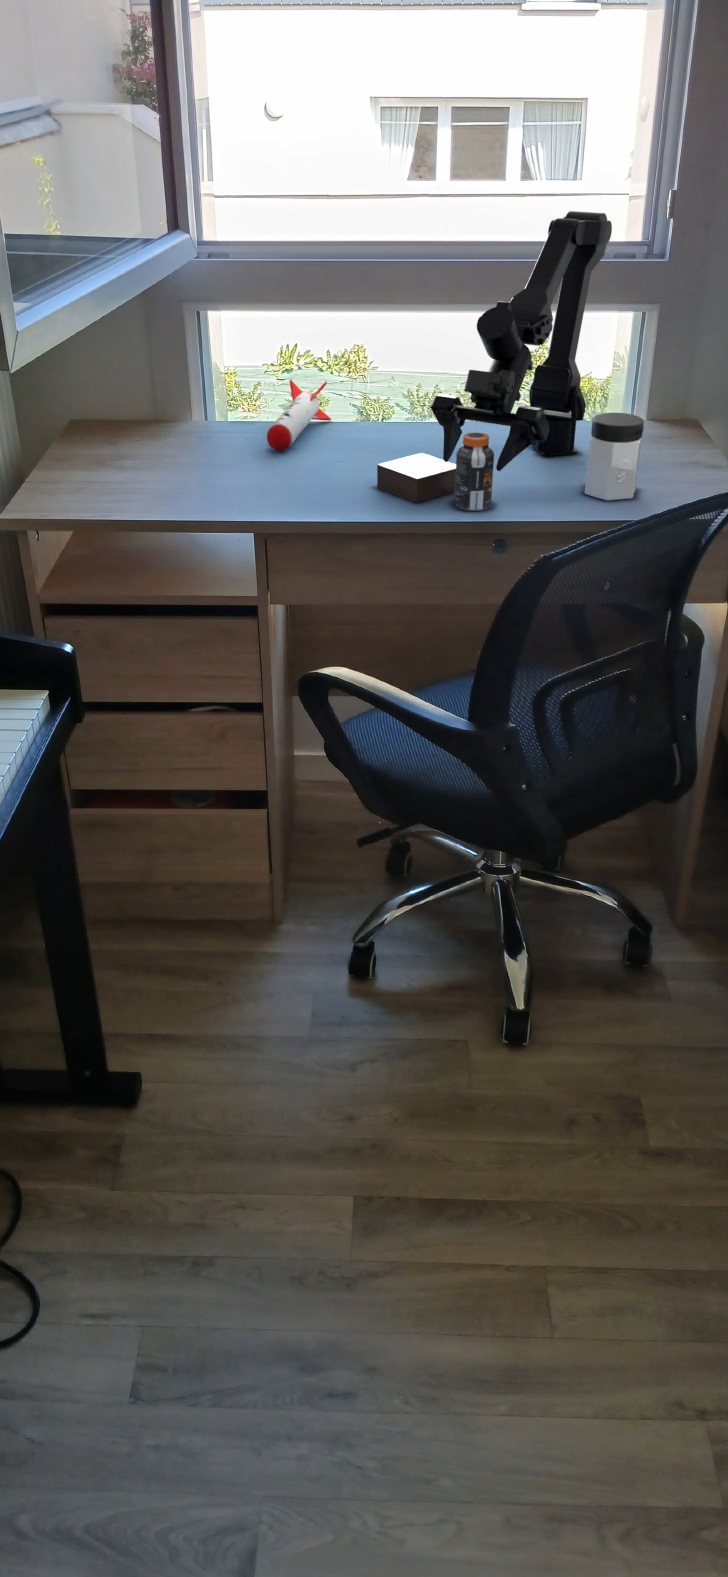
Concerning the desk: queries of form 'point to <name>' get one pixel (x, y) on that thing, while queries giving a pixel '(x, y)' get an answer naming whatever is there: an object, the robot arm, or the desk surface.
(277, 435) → the model rocket
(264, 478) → the desk surface
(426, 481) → the block
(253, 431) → the desk surface
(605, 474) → the jar
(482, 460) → the pill bottle
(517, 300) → the robot arm
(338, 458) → the desk surface
